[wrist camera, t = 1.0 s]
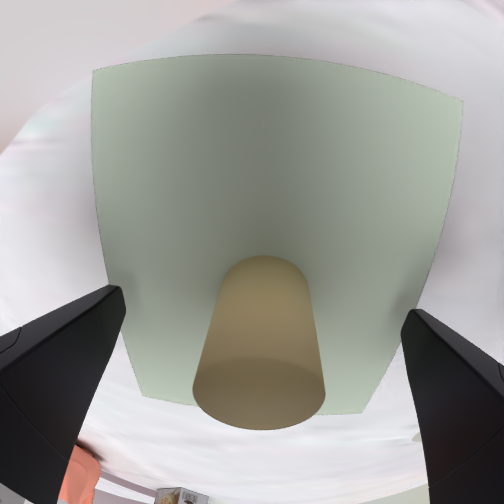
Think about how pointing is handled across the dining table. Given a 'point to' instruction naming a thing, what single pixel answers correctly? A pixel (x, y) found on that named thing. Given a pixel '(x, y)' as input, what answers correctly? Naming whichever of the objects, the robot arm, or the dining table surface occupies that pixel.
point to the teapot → (80, 477)
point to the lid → (267, 226)
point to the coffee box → (179, 497)
